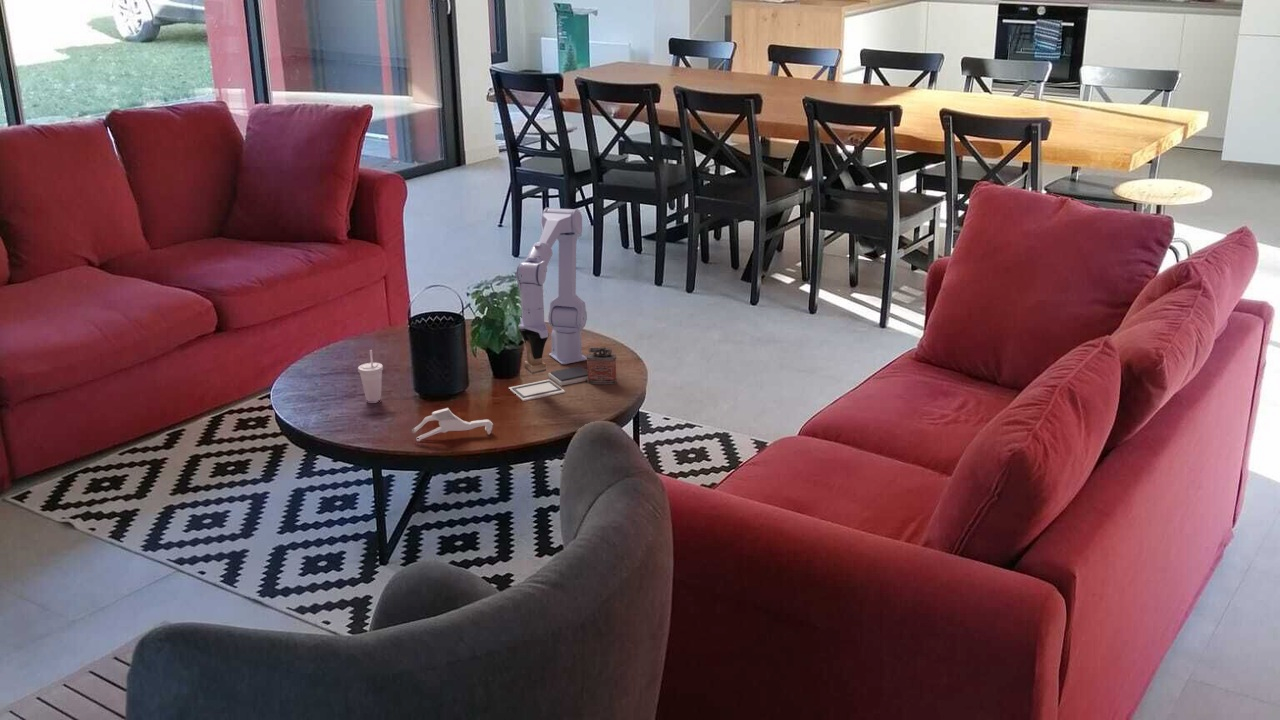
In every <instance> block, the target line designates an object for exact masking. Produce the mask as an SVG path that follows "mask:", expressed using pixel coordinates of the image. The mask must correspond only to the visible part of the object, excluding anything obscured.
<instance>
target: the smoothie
mask: <svg viewBox="0 0 1280 720" xmlns="http://www.w3.org/2000/svg"><path fill="white" fill-rule="evenodd" d="M369 356H370V362H367V363H366V362H365V363H362V364H361V365H359V366H358V367H357V372H358V373H359V375H360V379H361V383H362V384H361V385H362V388H363V392H364V396H365V401H366V400H368V401H378V400H380V399H381V400H382V386H383V385H382V382H383V381H382V380H383V370H384V366H383V364H382V363H381V362H374V359H373V349H369Z"/></svg>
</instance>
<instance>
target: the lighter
mask: <svg viewBox="0 0 1280 720" xmlns="http://www.w3.org/2000/svg"><path fill="white" fill-rule="evenodd" d="M612 349H613V348H612V347H605V345H602V346H600V347H597V346H590V347H589V348H588V353H589V354H587V355H586V358H587V360H586V361H587V362H586V363H587V371H588V378H587V381H586V382H587V383H588V384H592V385H593V384H595V385H614V384H617V381H618V378H617V355H616V354H612V353H613V352H612Z"/></svg>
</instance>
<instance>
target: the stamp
mask: <svg viewBox="0 0 1280 720" xmlns="http://www.w3.org/2000/svg"><path fill="white" fill-rule="evenodd" d="M525 348H526V350H525V351H526V360H524V361H523V362H524V369H525V370H526V371H528V372H529V373H530V374H532V375H534V374H539V373H543V372H546V371H547V363H546V362H544V361H543V357H542V358H539V359H534V357H533V354H532V348H531V344H530V341H529V340H527V341H526V345H525Z"/></svg>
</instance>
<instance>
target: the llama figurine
mask: <svg viewBox="0 0 1280 720" xmlns="http://www.w3.org/2000/svg"><path fill="white" fill-rule="evenodd" d="M430 421H431V422H432V421H438V425H439V426H438V427H435V429H432V430H430V431H428V432H425V433H423V434H420V435H419V436H418V435H417V436H416V442H421V440H424V439H426V438H428V437H431V436H434V435H436V434H439V433H444V434H446V433H447V432H453V431H454V432H455V431H456V432H457V431H458V432H459V431H461V432H463V431H468V430H473V429H475V428H478V427H479V428H480V427H484V430H485V431H486V432H487V433H486V434H487V435H490V434H491V433H492V430H493V426H494V423H493V422H492V421H491V420H490V419H477V420H471V421H466V420H463V419H461V418H460V417H458V416H457V415H455V414H454V413H453V412H452V411H451V410H450V408H449V407H446V408H442V409H438V410H435V411H432V412H431V415H428V416H425V417H423V420H422V421H421V422H420V423H419V424H418V425H416V426H415V427H413V428H411V432H412V433H413V434H416V432H417V431H418V430H420V429H421V428H422V427H423V426H424V425H425V424H426V423H428V422H430ZM417 438H419V439H417Z"/></svg>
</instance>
